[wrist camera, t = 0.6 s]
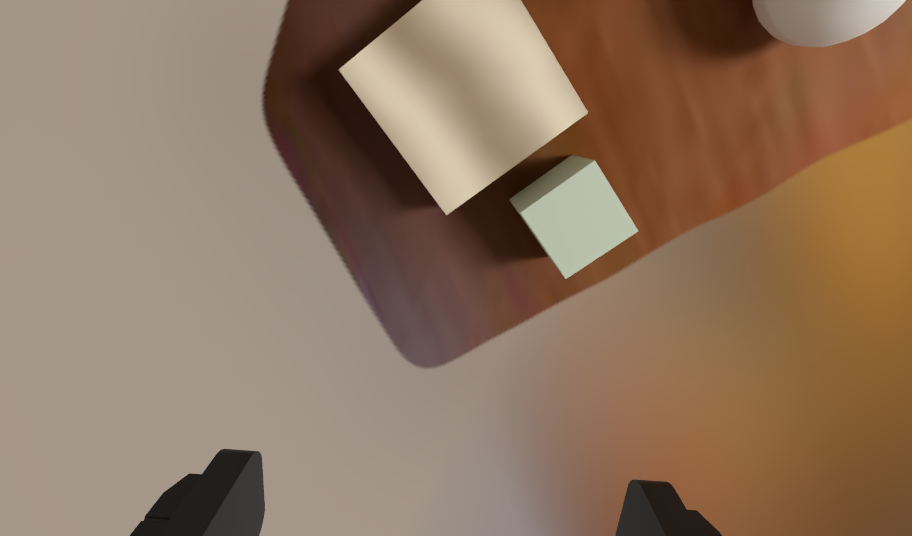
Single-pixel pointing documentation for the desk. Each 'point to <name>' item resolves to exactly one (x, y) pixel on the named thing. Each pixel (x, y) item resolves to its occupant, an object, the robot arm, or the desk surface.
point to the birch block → (464, 92)
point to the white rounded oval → (821, 19)
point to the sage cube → (574, 214)
